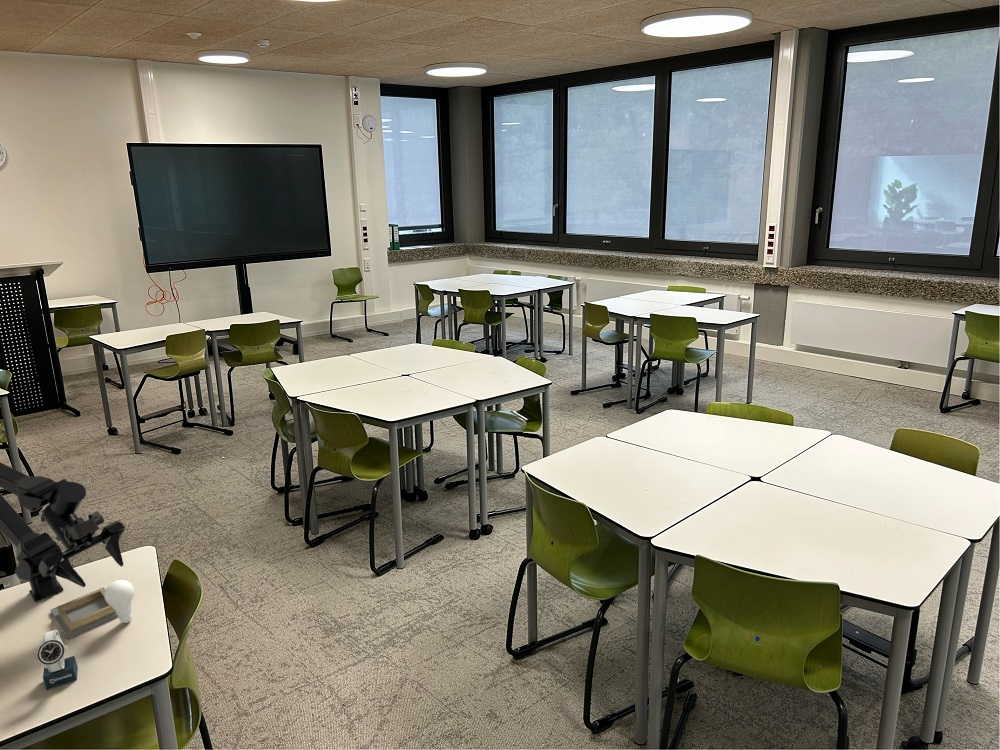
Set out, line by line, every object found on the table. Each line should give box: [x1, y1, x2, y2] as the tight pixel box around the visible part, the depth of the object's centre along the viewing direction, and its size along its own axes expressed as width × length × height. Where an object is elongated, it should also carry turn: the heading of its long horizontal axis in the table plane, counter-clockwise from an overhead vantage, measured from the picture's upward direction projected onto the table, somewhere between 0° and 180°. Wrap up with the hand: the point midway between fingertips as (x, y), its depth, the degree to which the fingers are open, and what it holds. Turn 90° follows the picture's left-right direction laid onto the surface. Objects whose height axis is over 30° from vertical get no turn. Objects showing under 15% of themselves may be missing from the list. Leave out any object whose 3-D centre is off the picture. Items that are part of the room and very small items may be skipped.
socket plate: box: [50, 587, 119, 640], centre depth 171 cm, size 15×12×3 cm
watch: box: [36, 629, 79, 690], centre depth 148 cm, size 6×8×11 cm
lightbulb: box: [104, 579, 135, 624], centre depth 165 cm, size 6×6×11 cm
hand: (104, 575), depth 166 cm, fingers open, 9 cm apart
